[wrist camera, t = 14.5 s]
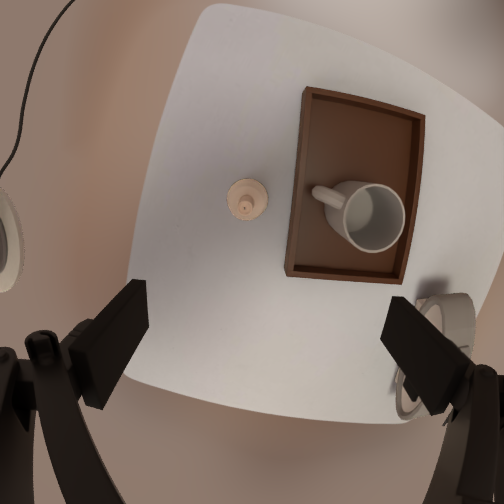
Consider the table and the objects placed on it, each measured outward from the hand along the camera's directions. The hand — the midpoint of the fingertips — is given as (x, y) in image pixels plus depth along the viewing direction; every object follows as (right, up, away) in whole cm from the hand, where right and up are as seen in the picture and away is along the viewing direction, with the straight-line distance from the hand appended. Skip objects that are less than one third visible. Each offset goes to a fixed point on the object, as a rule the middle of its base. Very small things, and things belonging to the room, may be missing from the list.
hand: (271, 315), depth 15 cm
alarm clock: (+27, -12, +29) cm, 42 cm away
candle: (-2, +10, +23) cm, 25 cm away
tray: (+13, +12, +22) cm, 28 cm away
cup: (+10, +10, +22) cm, 26 cm away
